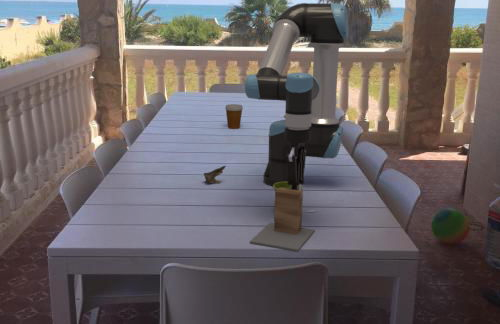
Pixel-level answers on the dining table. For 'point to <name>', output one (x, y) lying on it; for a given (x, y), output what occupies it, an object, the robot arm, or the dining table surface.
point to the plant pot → (282, 185)
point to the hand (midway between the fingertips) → (295, 204)
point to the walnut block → (288, 211)
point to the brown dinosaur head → (213, 175)
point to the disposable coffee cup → (233, 115)
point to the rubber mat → (282, 238)
